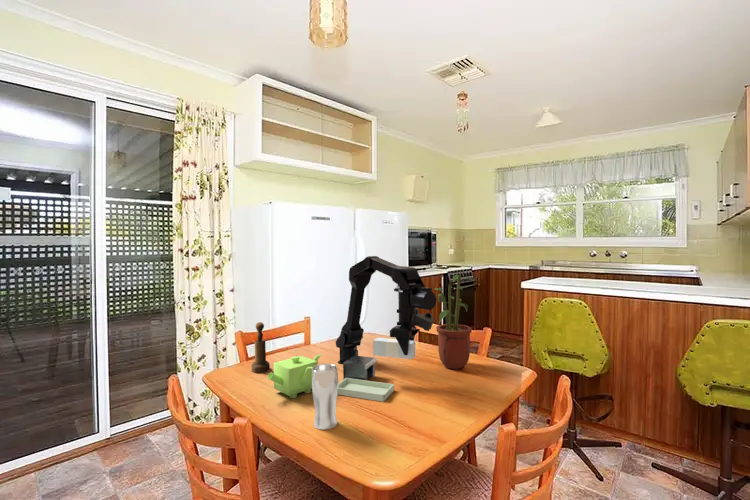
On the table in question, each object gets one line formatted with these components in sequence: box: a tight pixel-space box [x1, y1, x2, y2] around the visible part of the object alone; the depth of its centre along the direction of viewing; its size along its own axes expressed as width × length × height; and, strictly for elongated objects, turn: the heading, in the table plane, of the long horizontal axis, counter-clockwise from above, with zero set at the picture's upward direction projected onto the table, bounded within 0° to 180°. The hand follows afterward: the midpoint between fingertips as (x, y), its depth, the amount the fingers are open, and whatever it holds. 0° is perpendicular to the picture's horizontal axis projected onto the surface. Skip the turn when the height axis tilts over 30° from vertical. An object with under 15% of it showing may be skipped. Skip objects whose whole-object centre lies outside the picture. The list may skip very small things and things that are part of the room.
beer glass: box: [311, 363, 339, 431], centre depth 100 cm, size 7×7×15 cm
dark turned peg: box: [251, 321, 271, 374], centre depth 143 cm, size 7×6×18 cm
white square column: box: [372, 337, 416, 360], centre depth 127 cm, size 14×4×5 cm, turn 68°
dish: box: [337, 378, 395, 403], centre depth 121 cm, size 17×9×2 cm, turn 68°
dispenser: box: [342, 355, 377, 381], centre depth 132 cm, size 9×9×7 cm
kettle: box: [267, 353, 323, 399], centre depth 122 cm, size 15×14×11 cm
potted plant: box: [434, 274, 473, 370], centre depth 145 cm, size 17×16×35 cm
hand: (407, 353), depth 125 cm, fingers closed on white square column, 4 cm apart
